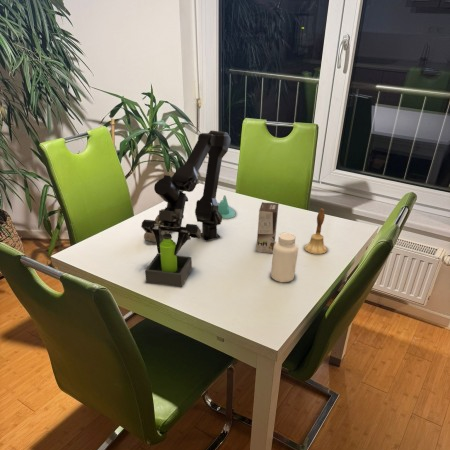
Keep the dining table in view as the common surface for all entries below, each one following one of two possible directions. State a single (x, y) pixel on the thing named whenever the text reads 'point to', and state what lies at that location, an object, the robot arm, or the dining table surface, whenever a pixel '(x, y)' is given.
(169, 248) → the green bottle
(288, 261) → the pill bottle
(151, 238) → the hiking shoe
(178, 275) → the tote
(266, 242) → the coffee box
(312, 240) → the hand bell
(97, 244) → the dining table surface
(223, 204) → the teal witch hat
